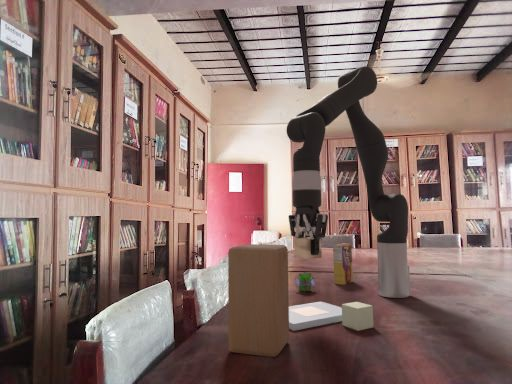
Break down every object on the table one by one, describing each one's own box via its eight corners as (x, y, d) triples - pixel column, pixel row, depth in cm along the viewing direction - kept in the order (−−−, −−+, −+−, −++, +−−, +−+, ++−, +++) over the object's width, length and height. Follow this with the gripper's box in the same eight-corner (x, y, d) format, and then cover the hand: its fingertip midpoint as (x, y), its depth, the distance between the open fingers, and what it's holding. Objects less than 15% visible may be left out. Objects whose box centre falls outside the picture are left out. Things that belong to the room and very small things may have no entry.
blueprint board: (320, 306, 104) (320, 301, 104) (357, 318, 92) (356, 311, 92) (261, 316, 94) (261, 310, 94) (293, 330, 82) (293, 323, 82)
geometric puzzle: (317, 287, 121) (314, 266, 127) (296, 287, 122) (295, 266, 127) (314, 297, 127) (312, 276, 132) (295, 297, 127) (293, 276, 132)
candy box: (343, 280, 147) (342, 243, 148) (353, 281, 145) (352, 243, 146) (333, 284, 140) (332, 244, 142) (343, 285, 138) (342, 244, 139)
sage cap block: (357, 322, 89) (356, 301, 89) (373, 327, 85) (372, 305, 85) (342, 325, 86) (341, 304, 87) (357, 331, 82) (357, 308, 82)
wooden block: (290, 341, 75) (288, 244, 76) (277, 359, 66) (275, 248, 67) (245, 337, 78) (244, 243, 80) (226, 353, 69) (226, 247, 70)
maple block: (309, 256, 98) (309, 237, 98) (321, 257, 94) (321, 238, 94) (294, 257, 95) (294, 238, 96) (306, 258, 91) (306, 239, 91)
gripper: (336, 187, 91) (337, 255, 90) (301, 191, 104) (302, 251, 103) (313, 186, 88) (314, 257, 86) (279, 190, 100) (280, 252, 99)
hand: (307, 253), depth 94 cm, fingers closed on maple block, 5 cm apart
